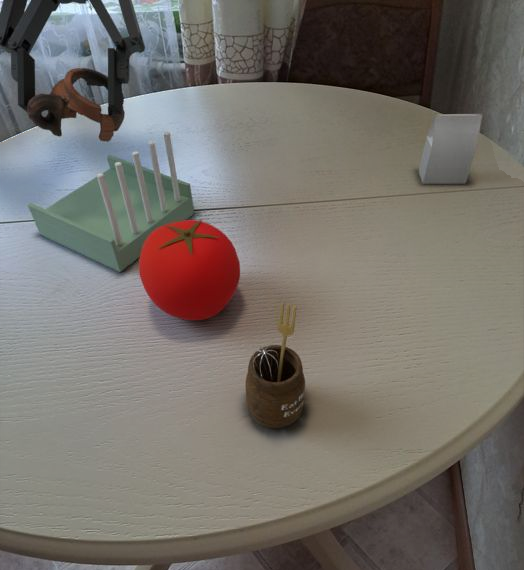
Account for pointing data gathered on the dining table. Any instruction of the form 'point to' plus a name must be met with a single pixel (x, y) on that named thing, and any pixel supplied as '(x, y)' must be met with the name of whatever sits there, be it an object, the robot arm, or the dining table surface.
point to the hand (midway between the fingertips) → (70, 109)
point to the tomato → (189, 269)
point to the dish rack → (117, 210)
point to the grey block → (450, 148)
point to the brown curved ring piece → (74, 105)
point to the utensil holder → (276, 380)
